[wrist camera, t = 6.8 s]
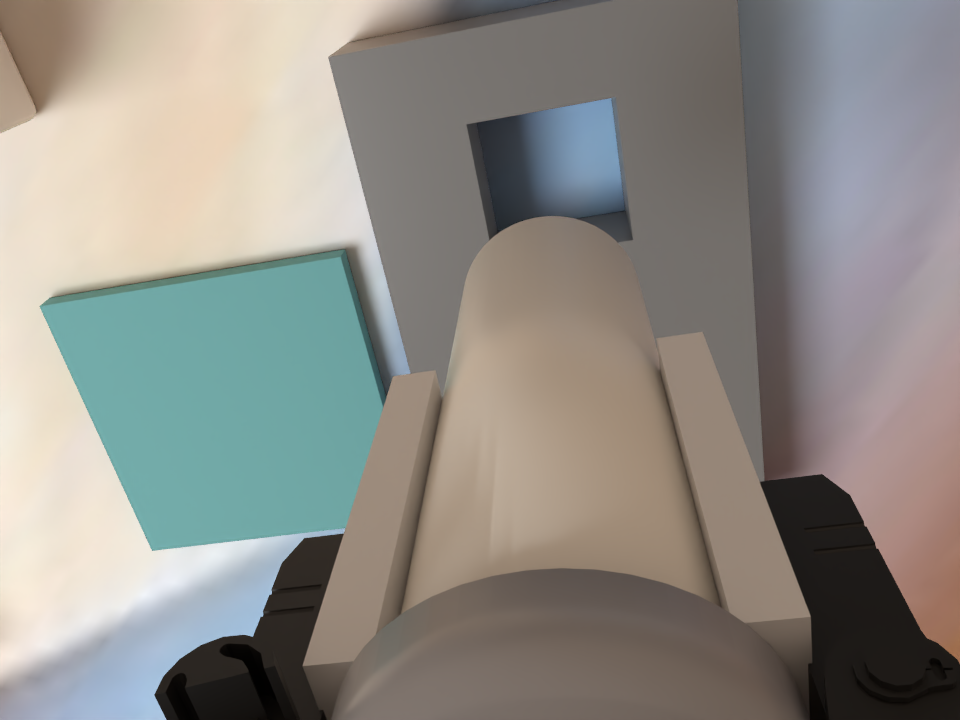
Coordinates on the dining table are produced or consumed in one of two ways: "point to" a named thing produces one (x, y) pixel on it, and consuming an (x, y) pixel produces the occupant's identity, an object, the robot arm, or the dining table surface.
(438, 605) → the plug
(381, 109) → the grey socket plate
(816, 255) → the dining table surface
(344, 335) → the mat
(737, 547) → the robot arm
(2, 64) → the medicine bottle
